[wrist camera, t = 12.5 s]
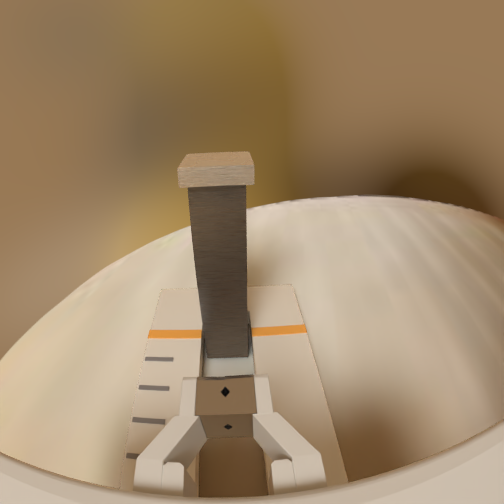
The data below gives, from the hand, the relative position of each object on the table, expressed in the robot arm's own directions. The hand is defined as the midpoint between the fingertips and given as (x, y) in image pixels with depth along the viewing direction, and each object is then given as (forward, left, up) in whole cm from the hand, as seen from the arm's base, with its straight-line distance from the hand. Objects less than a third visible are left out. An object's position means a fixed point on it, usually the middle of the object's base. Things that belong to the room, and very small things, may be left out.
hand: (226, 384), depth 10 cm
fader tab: (-9, -9, -11) cm, 17 cm away
